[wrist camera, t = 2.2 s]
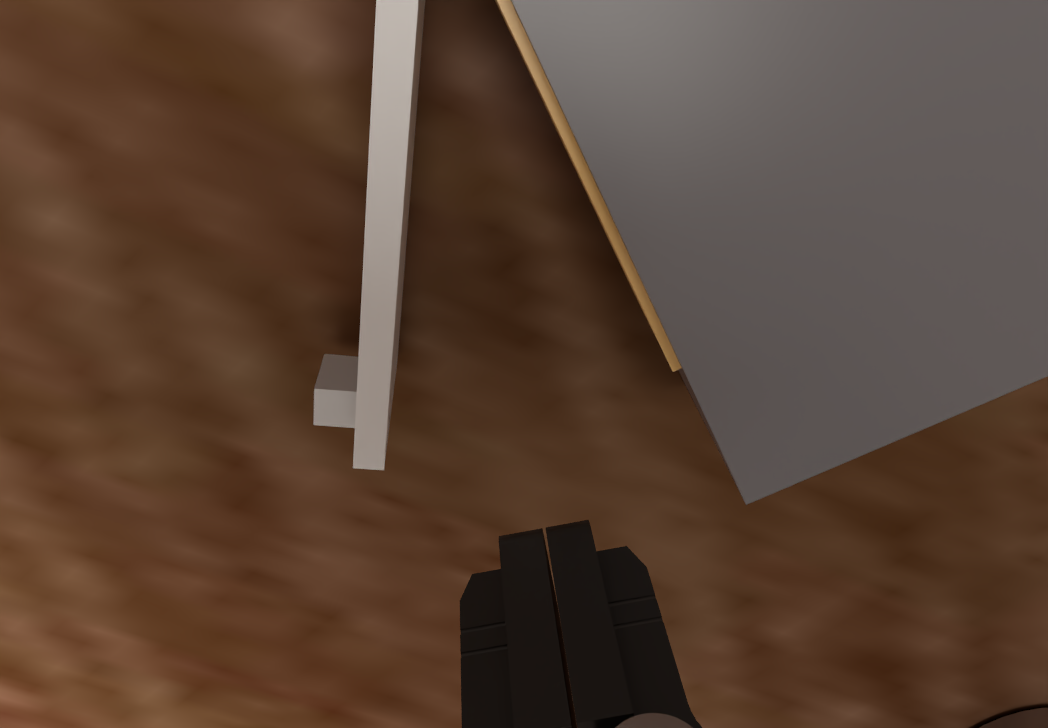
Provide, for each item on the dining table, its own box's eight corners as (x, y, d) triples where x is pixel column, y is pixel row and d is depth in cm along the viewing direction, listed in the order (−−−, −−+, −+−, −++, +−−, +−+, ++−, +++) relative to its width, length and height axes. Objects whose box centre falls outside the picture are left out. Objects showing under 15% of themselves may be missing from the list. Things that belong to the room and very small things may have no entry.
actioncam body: (964, 257, 26) (1131, 365, 20) (678, 388, 27) (747, 527, 21) (781, -563, 16) (994, -877, 10) (358, -287, 18) (306, -404, 11)
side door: (403, 363, 26) (391, 473, 21) (332, 356, 25) (301, 467, 20) (444, -134, 19) (441, -156, 14) (348, -151, 19) (309, -180, 14)
